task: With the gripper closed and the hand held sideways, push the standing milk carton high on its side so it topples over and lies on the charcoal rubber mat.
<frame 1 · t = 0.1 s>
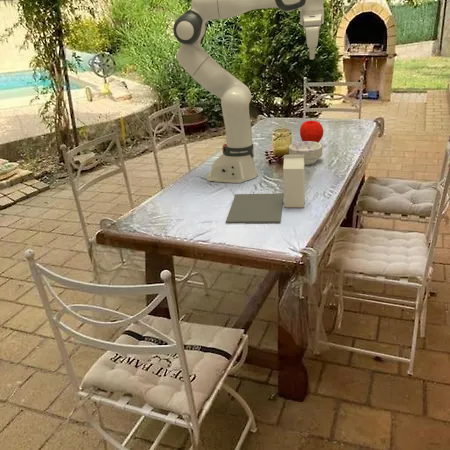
hand: (312, 57, 187), 48 cm above the table, tool pointing down, fingers open, 8 cm apart
milk carton: (294, 204, 179), on the table
apple: (311, 147, 246), on the table
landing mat: (256, 208, 178), on the table
paper bowls: (305, 162, 224), on the table
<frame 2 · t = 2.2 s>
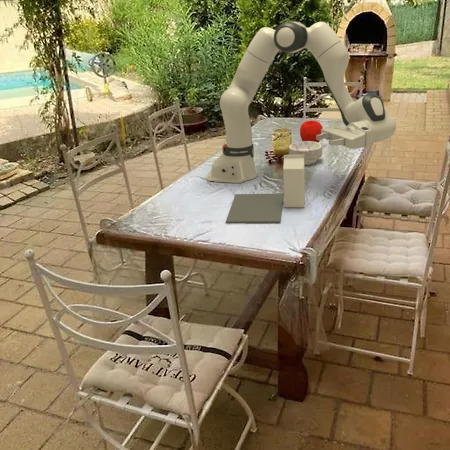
hand: (323, 140, 173), 22 cm above the table, tool horizontal, fingers open, 7 cm apart
nothing on the table moved.
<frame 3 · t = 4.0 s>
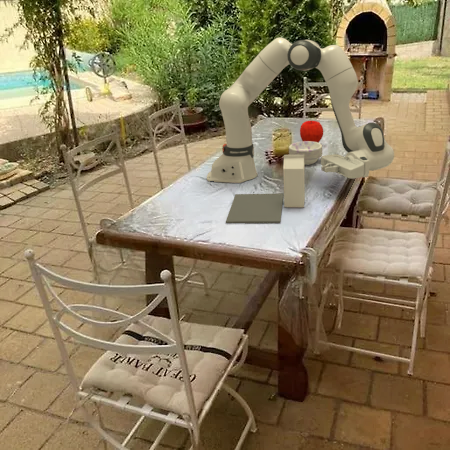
hand: (323, 169, 178), 11 cm above the table, tool horizontal, fingers closed
nothing on the table moved.
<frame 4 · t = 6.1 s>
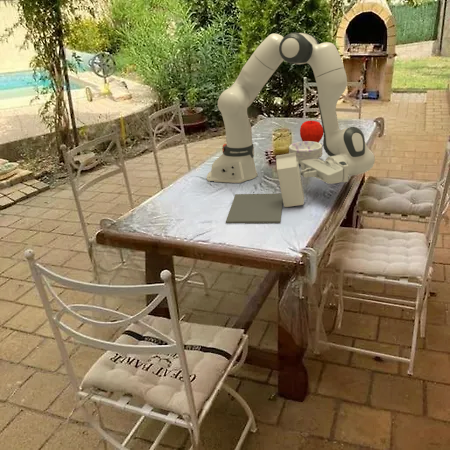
hand: (302, 174, 175), 11 cm above the table, tool horizontal, fingers closed
milk carton: (294, 203, 179), on the table, touching gripper
everything else where it was.
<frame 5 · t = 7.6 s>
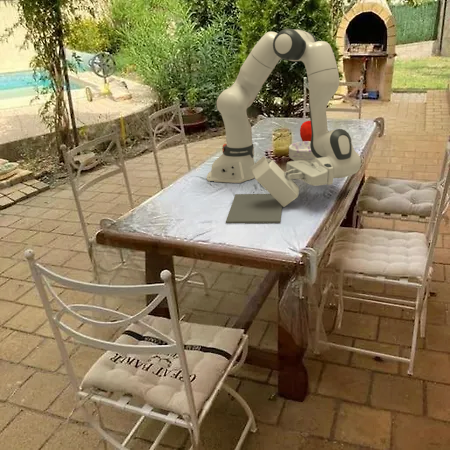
hand: (286, 175, 173), 12 cm above the table, tool horizontal, fingers closed
milk carton: (292, 198, 178), point 2 cm above the table, touching gripper
everything else where it was.
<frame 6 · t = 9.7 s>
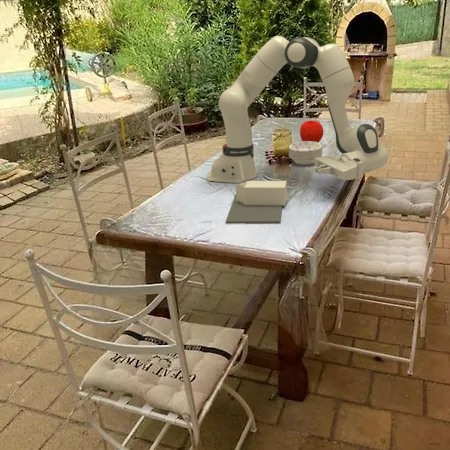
hand: (316, 171, 177), 11 cm above the table, tool horizontal, fingers closed
milk carton: (286, 193, 178), point 4 cm above the table, touching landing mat
everything else where it was.
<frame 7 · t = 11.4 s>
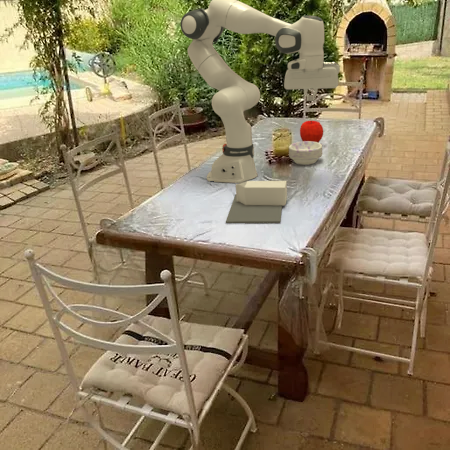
hand: (310, 100, 185), 33 cm above the table, tool pointing down, fingers closed
nothing on the table moved.
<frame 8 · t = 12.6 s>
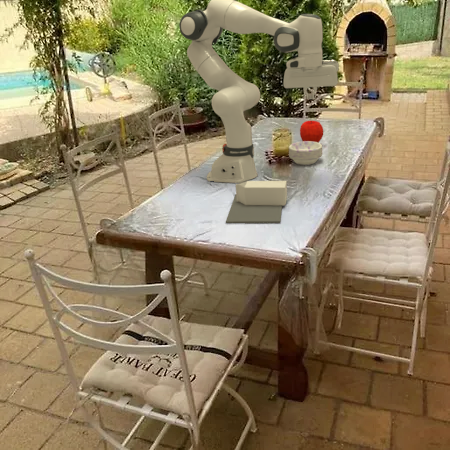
hand: (310, 98, 184), 34 cm above the table, tool pointing down, fingers closed
nothing on the table moved.
at the end: milk carton tilted 90°; milk carton touching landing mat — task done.
